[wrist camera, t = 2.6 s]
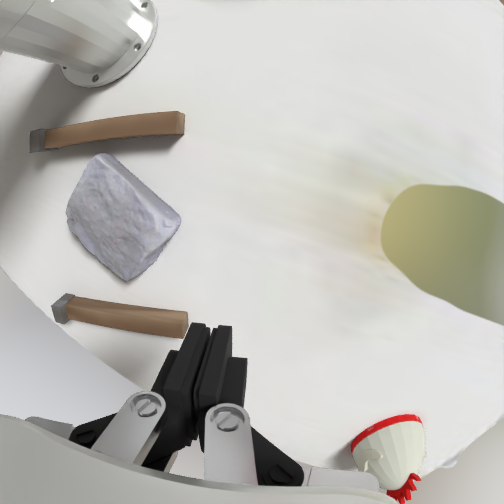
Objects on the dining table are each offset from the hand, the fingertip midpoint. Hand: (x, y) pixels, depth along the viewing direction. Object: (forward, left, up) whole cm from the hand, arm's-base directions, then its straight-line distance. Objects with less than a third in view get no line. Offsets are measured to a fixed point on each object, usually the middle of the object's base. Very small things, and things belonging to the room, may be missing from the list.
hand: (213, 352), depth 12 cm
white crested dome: (+36, +27, -18) cm, 48 cm away
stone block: (-1, -13, -18) cm, 23 cm away
